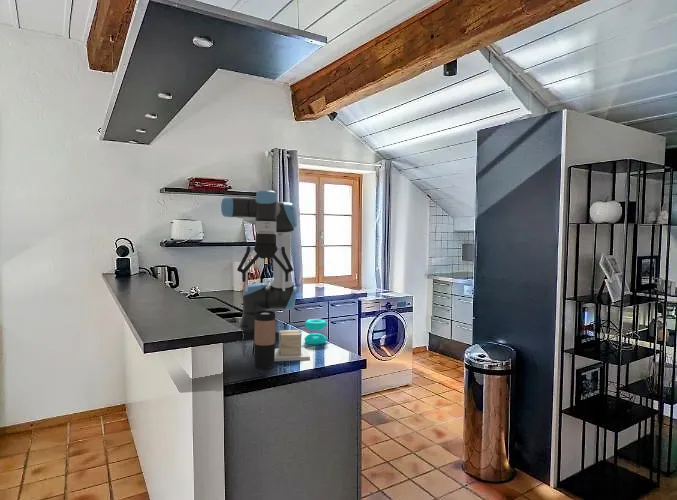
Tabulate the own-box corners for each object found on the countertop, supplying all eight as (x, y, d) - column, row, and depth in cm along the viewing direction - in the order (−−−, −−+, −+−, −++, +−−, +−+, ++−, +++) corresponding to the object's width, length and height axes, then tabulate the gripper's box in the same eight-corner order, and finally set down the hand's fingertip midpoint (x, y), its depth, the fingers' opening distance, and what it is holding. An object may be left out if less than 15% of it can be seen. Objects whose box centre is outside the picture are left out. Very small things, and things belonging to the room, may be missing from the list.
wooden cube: (278, 349, 181) (279, 330, 181) (298, 349, 183) (298, 329, 183) (280, 355, 174) (281, 335, 173) (300, 354, 175) (301, 334, 175)
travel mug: (249, 366, 163) (250, 312, 162) (264, 361, 170) (264, 309, 169) (264, 370, 159) (265, 315, 158) (279, 365, 165) (279, 312, 164)
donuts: (301, 319, 202) (321, 317, 206) (301, 341, 202) (320, 339, 207) (310, 323, 193) (330, 321, 197) (309, 346, 193) (330, 344, 198)
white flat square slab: (271, 351, 184) (271, 348, 184) (304, 350, 187) (304, 346, 187) (273, 361, 170) (273, 357, 170) (309, 359, 173) (309, 356, 173)
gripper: (230, 232, 155) (230, 292, 156) (301, 233, 161) (300, 291, 162) (231, 232, 163) (230, 289, 164) (298, 233, 168) (297, 289, 169)
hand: (265, 290), depth 163 cm, fingers open, 13 cm apart
